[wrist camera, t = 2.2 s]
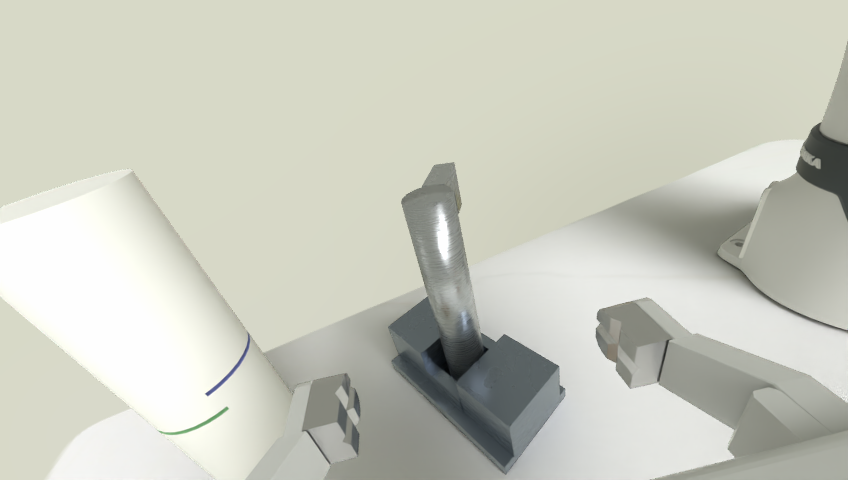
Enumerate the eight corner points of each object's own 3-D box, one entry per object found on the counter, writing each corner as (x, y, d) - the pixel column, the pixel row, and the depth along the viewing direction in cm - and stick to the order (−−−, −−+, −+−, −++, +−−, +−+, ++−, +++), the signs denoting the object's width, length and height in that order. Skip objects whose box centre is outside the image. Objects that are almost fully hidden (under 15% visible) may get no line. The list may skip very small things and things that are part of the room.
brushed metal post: (486, 392, 28) (448, 206, 19) (448, 388, 29) (394, 211, 20) (492, 326, 34) (465, 160, 25) (460, 325, 35) (423, 166, 26)
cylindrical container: (335, 437, 29) (154, 168, 16) (268, 529, 24) (-66, 251, 11) (286, 405, 33) (108, 169, 20) (220, 479, 28) (-69, 230, 15)
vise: (393, 366, 34) (379, 333, 31) (448, 320, 38) (439, 287, 35) (507, 475, 24) (500, 439, 21) (566, 396, 27) (566, 357, 25)
